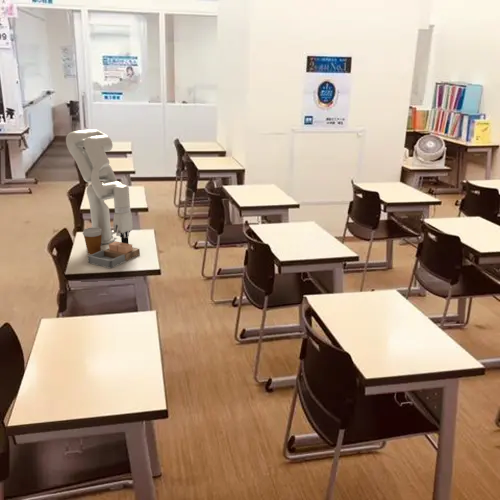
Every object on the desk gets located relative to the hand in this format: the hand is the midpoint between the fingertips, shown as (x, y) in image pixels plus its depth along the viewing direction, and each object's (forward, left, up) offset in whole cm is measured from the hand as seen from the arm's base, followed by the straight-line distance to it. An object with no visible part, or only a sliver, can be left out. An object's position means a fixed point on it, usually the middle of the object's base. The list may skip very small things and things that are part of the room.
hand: (125, 244), depth 274 cm
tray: (+16, +2, -4) cm, 17 cm away
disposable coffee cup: (+9, -12, -4) cm, 16 cm away
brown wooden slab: (+6, +3, -4) cm, 7 cm away
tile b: (+6, +5, 0) cm, 8 cm away
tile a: (+6, 0, 0) cm, 7 cm away
